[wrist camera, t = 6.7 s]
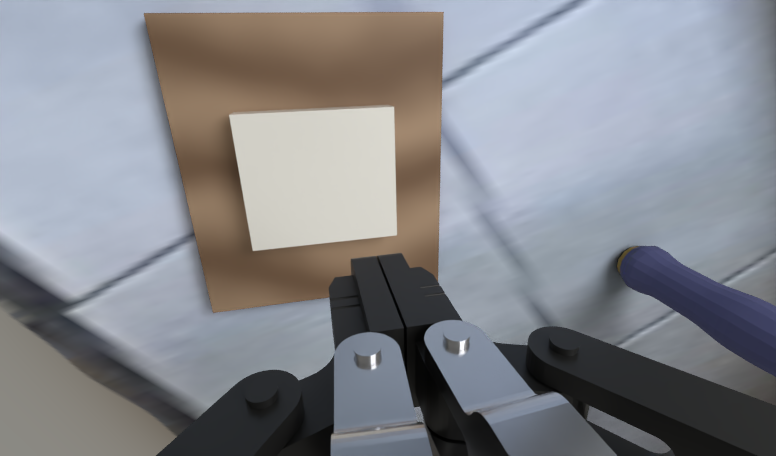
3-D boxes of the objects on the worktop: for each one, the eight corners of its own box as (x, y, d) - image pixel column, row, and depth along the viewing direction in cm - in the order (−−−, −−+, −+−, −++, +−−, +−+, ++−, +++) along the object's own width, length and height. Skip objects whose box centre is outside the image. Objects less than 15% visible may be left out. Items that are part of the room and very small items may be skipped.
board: (151, 16, 21) (143, 13, 20) (437, 14, 24) (443, 12, 23) (216, 303, 28) (213, 312, 27) (432, 275, 31) (437, 282, 29)
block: (388, 104, 24) (234, 111, 22) (394, 106, 22) (229, 114, 21) (391, 225, 27) (255, 239, 25) (396, 235, 25) (252, 251, 24)
